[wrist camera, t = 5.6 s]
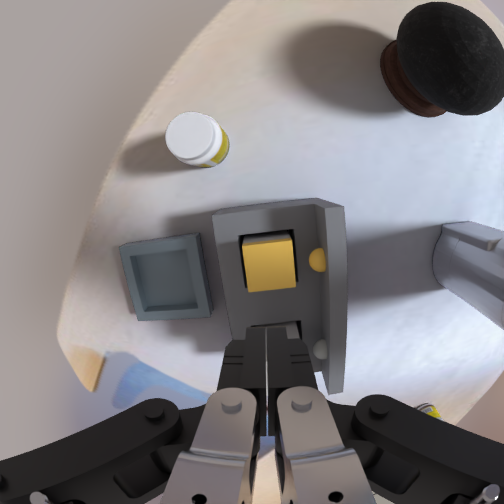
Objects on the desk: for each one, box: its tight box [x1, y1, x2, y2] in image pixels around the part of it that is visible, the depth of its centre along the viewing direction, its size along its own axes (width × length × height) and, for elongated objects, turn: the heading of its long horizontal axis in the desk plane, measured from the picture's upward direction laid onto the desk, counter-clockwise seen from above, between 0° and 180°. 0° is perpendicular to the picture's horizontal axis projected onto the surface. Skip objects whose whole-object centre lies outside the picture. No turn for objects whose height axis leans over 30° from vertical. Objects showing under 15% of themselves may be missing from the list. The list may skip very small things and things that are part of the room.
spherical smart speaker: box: [380, 2, 504, 117], centre depth 17 cm, size 13×13×15 cm
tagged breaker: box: [242, 230, 296, 292], centre depth 26 cm, size 4×4×8 cm
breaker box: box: [212, 198, 347, 395], centre depth 27 cm, size 18×10×10 cm, turn 7°
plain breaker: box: [256, 321, 299, 396], centre depth 26 cm, size 4×4×8 cm
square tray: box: [119, 233, 213, 321], centre depth 31 cm, size 9×9×2 cm
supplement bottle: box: [165, 112, 230, 168], centre depth 24 cm, size 5×5×8 cm
